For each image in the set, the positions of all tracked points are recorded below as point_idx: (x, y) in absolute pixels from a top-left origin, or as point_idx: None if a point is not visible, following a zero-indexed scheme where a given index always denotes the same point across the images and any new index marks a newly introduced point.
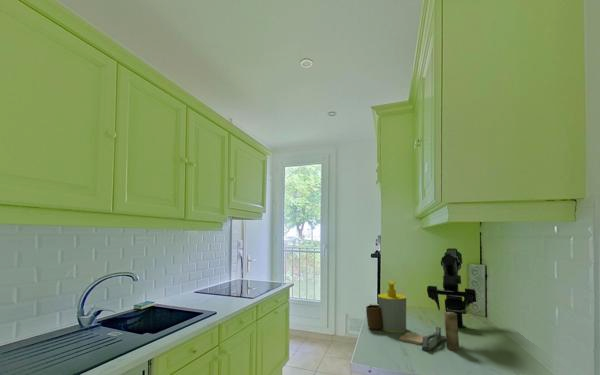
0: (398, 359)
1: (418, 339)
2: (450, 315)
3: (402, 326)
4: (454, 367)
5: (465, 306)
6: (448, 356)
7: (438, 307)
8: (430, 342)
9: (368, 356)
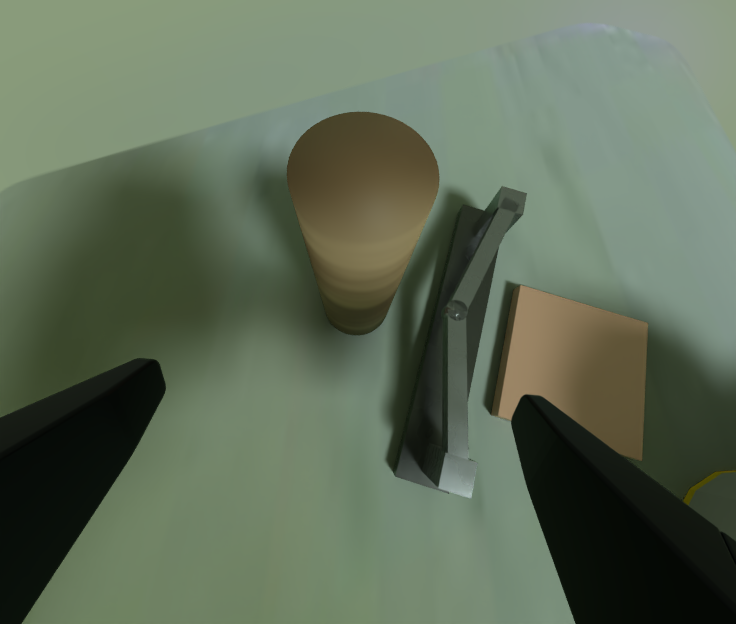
0: (560, 102)
1: (544, 332)
2: (366, 119)
3: (722, 524)
4: (361, 98)
5: (16, 411)
6: None
7: (552, 408)
8: (474, 306)
9: (665, 93)
